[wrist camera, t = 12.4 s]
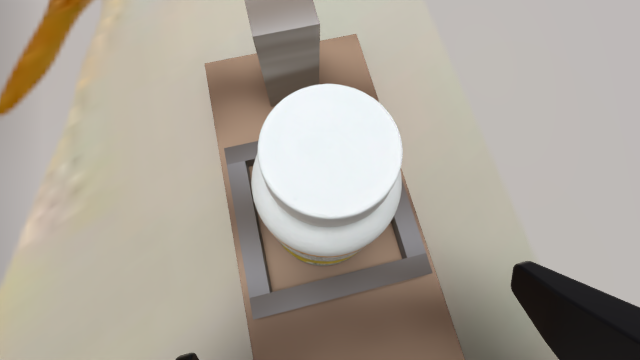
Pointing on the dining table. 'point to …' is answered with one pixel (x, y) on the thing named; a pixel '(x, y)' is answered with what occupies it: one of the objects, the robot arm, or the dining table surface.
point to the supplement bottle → (327, 172)
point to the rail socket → (267, 252)
